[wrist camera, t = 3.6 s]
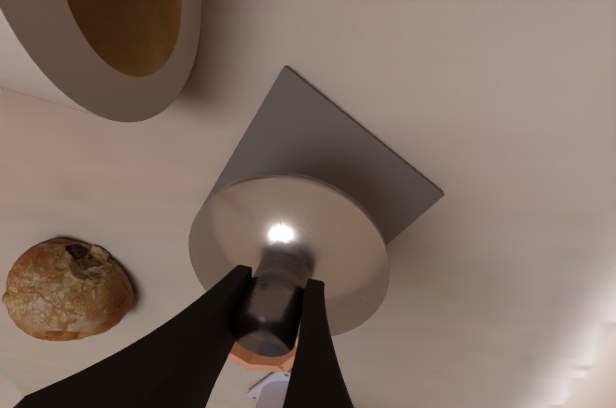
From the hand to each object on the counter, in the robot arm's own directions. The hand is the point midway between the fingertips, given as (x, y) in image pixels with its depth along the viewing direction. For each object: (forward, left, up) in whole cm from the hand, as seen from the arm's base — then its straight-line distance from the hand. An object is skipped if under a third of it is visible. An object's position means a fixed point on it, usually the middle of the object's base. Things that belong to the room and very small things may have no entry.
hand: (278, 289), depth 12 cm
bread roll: (+12, +22, -9) cm, 26 cm away
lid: (0, 0, -2) cm, 2 cm away
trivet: (0, 0, -9) cm, 9 cm away
